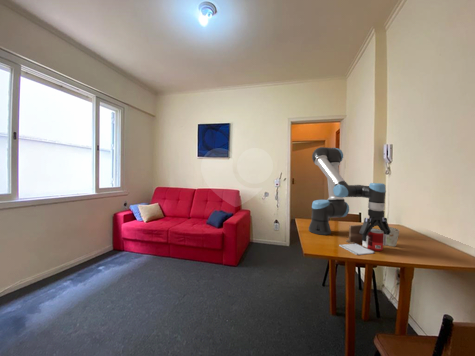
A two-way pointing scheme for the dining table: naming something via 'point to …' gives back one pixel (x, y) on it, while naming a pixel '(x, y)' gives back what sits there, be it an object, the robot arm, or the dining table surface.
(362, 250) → the mat
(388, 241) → the mug
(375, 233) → the canned food
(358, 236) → the brown block
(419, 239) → the dining table surface
